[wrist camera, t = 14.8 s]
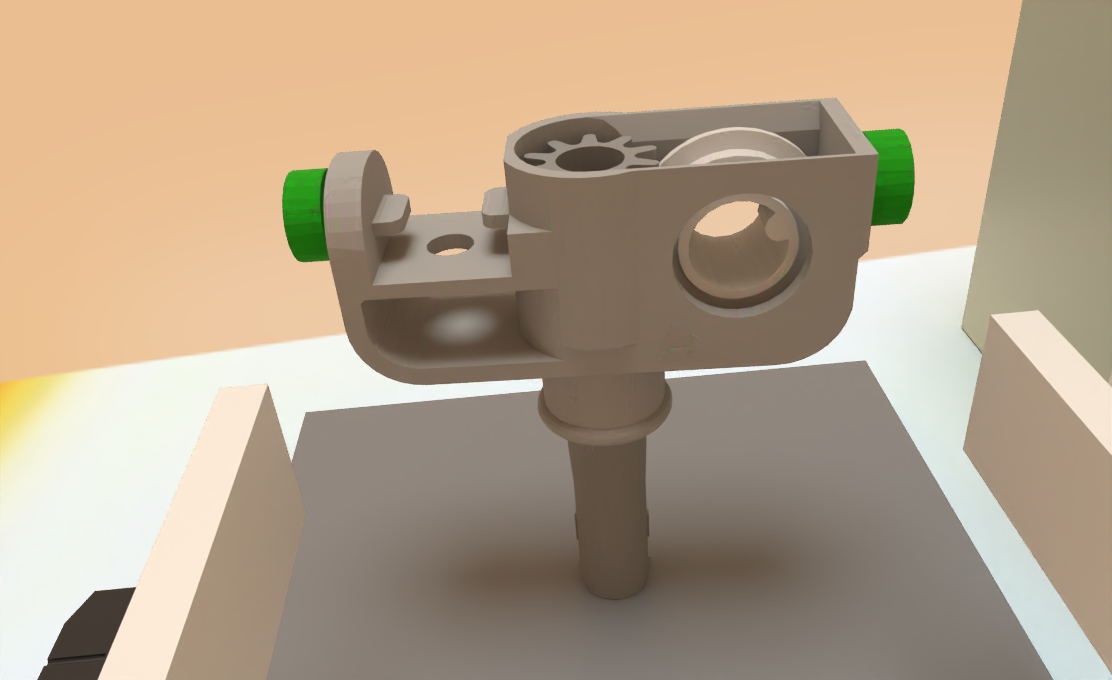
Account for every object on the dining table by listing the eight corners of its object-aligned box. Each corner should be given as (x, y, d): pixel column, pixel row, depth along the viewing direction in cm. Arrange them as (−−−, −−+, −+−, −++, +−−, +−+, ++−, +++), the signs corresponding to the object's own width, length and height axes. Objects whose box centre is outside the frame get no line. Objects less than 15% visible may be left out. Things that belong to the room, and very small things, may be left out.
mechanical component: (397, 535, 22) (305, 130, 17) (834, 514, 22) (880, 89, 16) (376, 635, 20) (259, 197, 14) (868, 614, 19) (936, 152, 14)
